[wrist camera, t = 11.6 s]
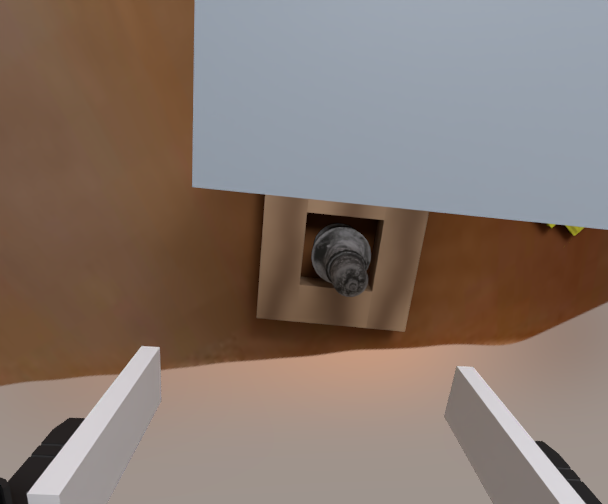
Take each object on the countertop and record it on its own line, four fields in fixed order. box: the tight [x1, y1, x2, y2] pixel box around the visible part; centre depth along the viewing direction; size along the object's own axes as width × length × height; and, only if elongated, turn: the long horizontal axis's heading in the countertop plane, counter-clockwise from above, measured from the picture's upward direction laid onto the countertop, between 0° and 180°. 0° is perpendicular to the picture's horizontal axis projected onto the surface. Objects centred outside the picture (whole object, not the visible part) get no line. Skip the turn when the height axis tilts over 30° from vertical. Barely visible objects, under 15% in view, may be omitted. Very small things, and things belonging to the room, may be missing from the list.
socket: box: [256, 194, 429, 332], centre depth 35 cm, size 16×20×3 cm
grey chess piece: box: [311, 223, 371, 297], centre depth 32 cm, size 6×6×12 cm
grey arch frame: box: [192, 0, 608, 230], centre depth 24 cm, size 18×8×22 cm, turn 84°
